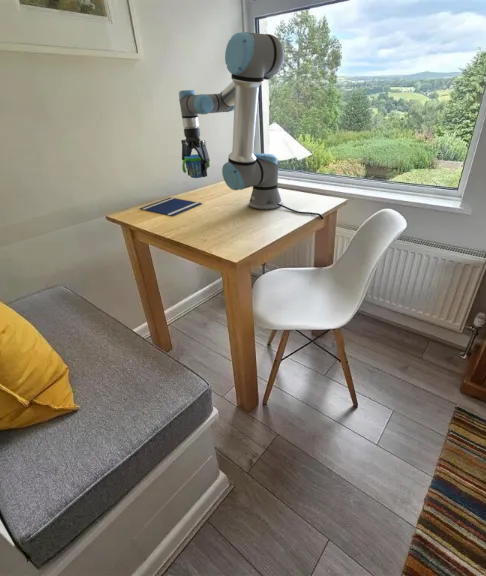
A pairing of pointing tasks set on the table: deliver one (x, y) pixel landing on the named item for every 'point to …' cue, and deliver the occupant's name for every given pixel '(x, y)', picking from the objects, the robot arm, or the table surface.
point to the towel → (171, 206)
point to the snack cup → (194, 165)
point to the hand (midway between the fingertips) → (197, 175)
